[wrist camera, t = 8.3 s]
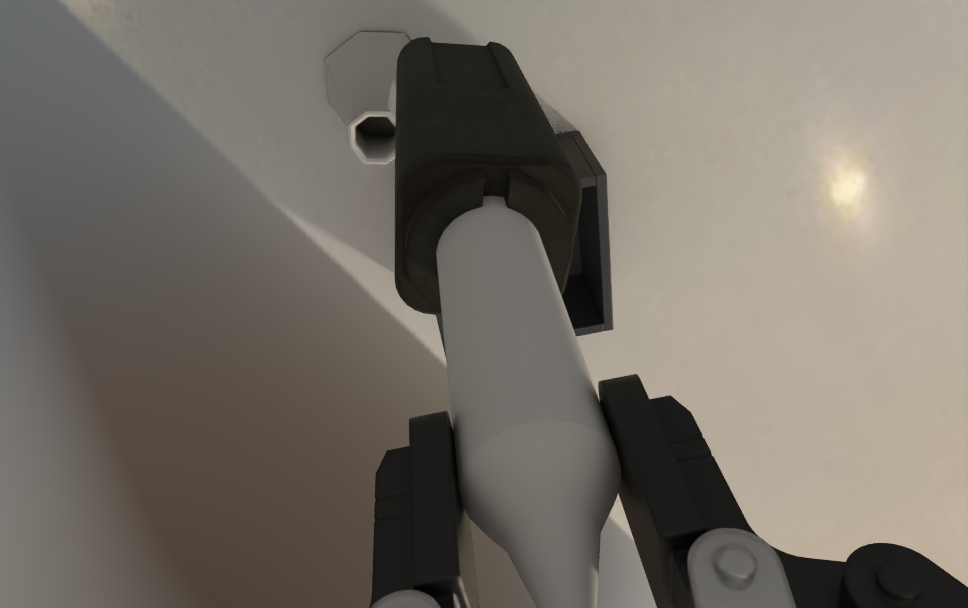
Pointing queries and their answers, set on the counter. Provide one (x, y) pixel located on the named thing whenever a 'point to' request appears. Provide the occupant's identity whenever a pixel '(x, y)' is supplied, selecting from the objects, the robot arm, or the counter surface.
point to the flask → (367, 92)
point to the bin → (586, 246)
